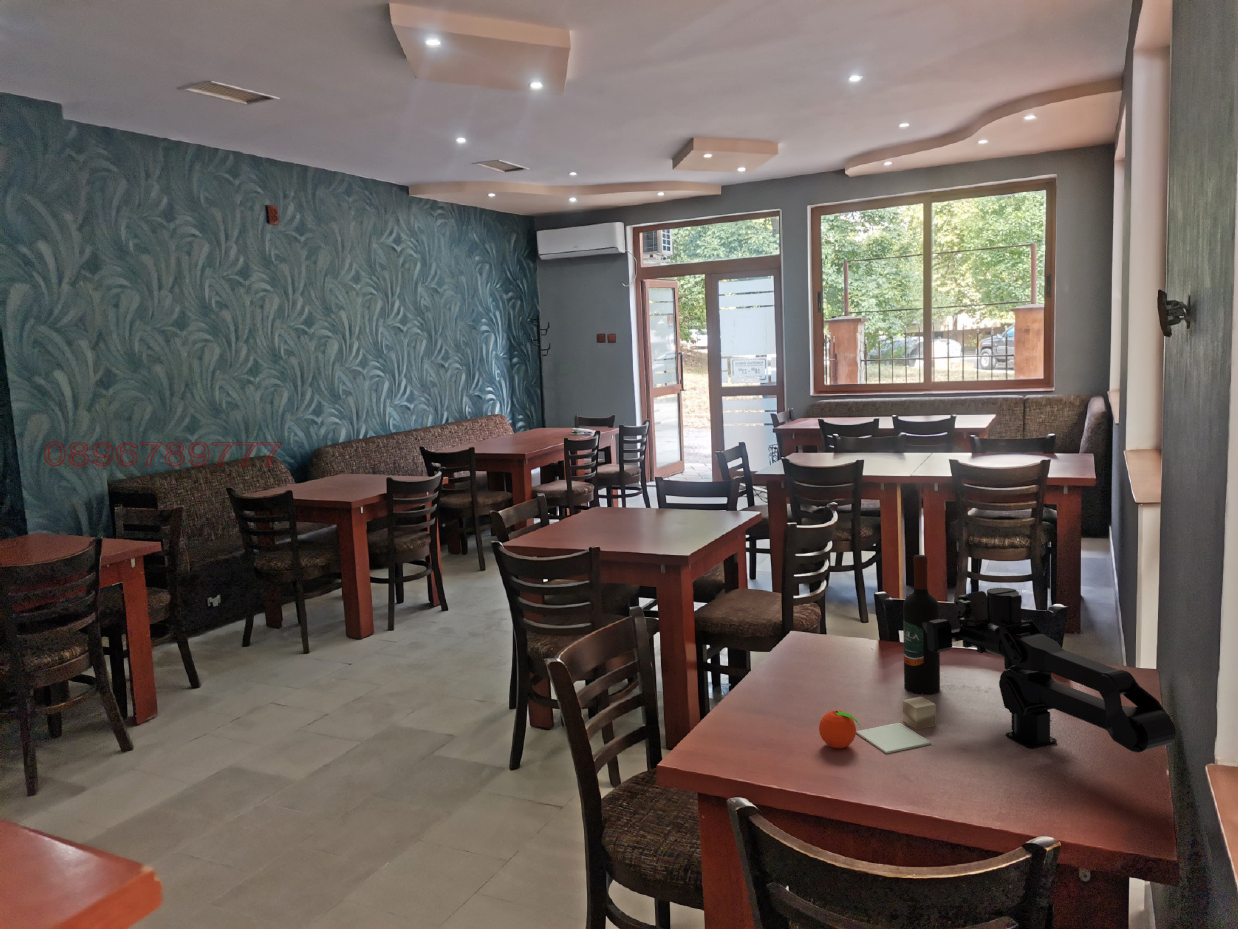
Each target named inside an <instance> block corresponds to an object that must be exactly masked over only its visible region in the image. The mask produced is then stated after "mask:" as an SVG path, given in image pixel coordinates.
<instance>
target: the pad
mask: <svg viewBox="0 0 1238 929" xmlns="http://www.w3.org/2000/svg"><path fill="white" fill-rule="evenodd" d="M856 735H857V736H859V737H861V738H862V739H863V740H865V739H866V740H865V741H867V743H870V744H871V745H872V746H873V747H875V748H877V749H878V750H879V751H881V752H883V753H884V754H891V753H896V752H901V751H906V750H909V749H915V748H919V747H924V746H928V745H929V746H930V745H932V741H930V740H929V739H927V738H925V737H924V736H922V735H920V734H918V732H915V731H914V730H912V729H910V728H909V727H907V726H905V725H904V724H902V723H900V722H896V723H891V724H890V723H889V724H886V725H885V724H884V725H880V726H876V727H870V728H866V729H860V730H856Z"/></svg>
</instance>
